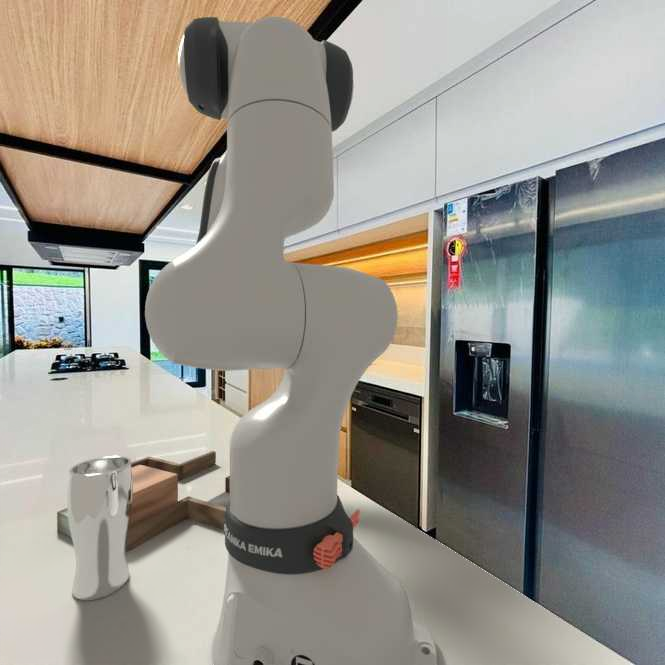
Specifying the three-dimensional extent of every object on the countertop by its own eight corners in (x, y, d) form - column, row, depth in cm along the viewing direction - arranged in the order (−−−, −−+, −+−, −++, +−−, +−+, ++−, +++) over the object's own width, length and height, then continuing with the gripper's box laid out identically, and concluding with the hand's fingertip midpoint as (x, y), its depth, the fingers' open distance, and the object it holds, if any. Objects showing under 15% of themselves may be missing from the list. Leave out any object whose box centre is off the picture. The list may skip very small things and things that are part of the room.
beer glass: (130, 559, 51) (130, 452, 51) (135, 589, 45) (135, 468, 45) (69, 577, 47) (69, 461, 47) (65, 612, 42) (65, 480, 41)
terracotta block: (177, 514, 64) (177, 474, 64) (123, 544, 55) (122, 497, 55) (139, 502, 69) (139, 464, 69) (83, 527, 60) (83, 484, 60)
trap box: (301, 484, 76) (301, 469, 76) (164, 580, 47) (164, 556, 47) (183, 456, 92) (183, 444, 92) (25, 515, 63) (25, 498, 63)
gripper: (207, 306, 90) (192, 359, 83) (274, 290, 80) (262, 348, 74) (225, 318, 94) (212, 369, 88) (290, 305, 85) (281, 360, 79)
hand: (235, 359), depth 81 cm, fingers open, 8 cm apart
